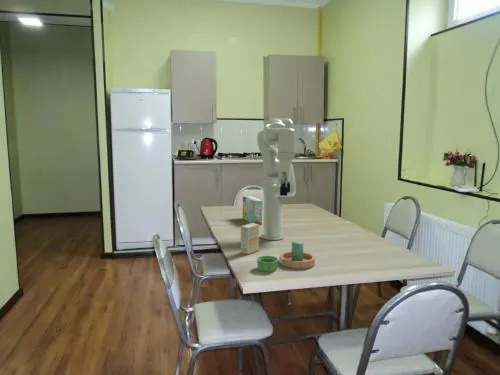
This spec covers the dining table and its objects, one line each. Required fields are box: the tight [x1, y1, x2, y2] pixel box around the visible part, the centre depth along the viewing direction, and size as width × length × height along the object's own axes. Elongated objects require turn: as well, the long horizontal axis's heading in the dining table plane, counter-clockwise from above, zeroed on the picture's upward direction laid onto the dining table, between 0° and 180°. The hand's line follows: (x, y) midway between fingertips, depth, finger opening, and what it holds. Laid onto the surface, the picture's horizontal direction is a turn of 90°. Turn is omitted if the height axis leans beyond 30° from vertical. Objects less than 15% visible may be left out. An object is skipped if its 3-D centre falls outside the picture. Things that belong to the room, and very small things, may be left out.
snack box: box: [242, 195, 264, 226], centre depth 255 cm, size 21×6×15 cm, turn 22°
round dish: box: [278, 250, 316, 270], centre depth 175 cm, size 15×15×3 cm
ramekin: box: [256, 255, 279, 273], centre depth 168 cm, size 9×9×4 cm
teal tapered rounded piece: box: [291, 240, 305, 261], centre depth 175 cm, size 5×5×8 cm
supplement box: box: [240, 222, 260, 256], centre depth 190 cm, size 8×5×13 cm, turn 141°
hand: (285, 193), depth 184 cm, fingers open, 9 cm apart
